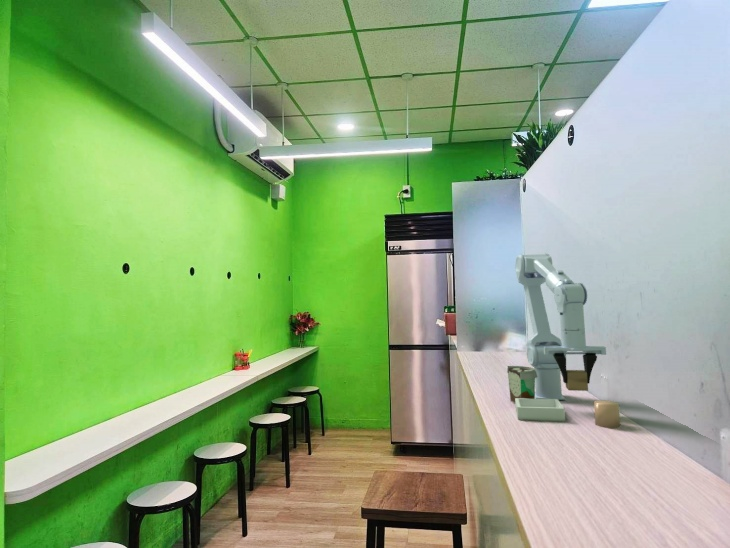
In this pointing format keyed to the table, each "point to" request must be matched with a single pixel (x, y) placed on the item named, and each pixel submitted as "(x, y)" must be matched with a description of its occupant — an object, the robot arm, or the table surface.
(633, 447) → the table surface
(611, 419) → the beige rounded block
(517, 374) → the food container
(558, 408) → the counting tray
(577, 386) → the walnut block
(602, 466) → the table surface
